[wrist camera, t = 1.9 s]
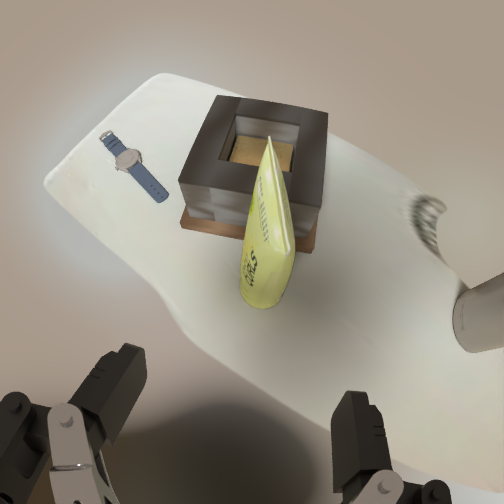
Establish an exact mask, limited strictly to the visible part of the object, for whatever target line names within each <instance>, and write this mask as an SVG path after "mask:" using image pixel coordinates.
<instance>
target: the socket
mask: <svg viewBox="0 0 504 504" xmlns="http://www.w3.org/2000/svg"><path fill="white" fill-rule="evenodd" d="M327 128H328V113H326V112H321V111H317V110H312V109H308V108H303V107H297V106H293V105H287V104H281V103H276V102H269V101H263V100H256V99H249V98H241V97H232V96H222V95H217V96H216V98H215V100H214V102H213V104H212V106H211V108H210V110H209V112H208V114H207V116H206V118H205V120H204V122H203V125H202V127H201V129H200V131H199V133H198V135H197V137H196V140H195V142H194V144H193V146H192V148H191V151H190V153H189V155H188V157H187V160H186V162H185V164H184V167H183V169H182V171H181V174H180V176H179V179H178V182H179V185H180V188H181V191H182V194H183V197H184V200H185V203H186V206H185V209H184V212H183V215H182V217H181V220H180V224H181V227H182V228H184V229H189V230H195V231H200V232H205V233H210V234H215V235H220V236H225V237H230V238H235V239H241V240H244V237H245V231H246V225H247V220H248V215H249V210H250V206H251V201H252V196H253V191H254V187H255V182H256V178H257V174H258V170H259V167H260V166H254V165H248V164H242V163H236V162H230V161H229V160H230V157H231V154H232V151H233V148H234V145H235V142H236V139H237V136H238V135H240V136H247V137H253V138H259V139H265V140H268V136H270V137H271V141H276V142H282V143H287V144H292V145H293V150H292V156H291V162H290V168H289V172H286V171H282V175H283V179H284V183H285V187H286V191H287V196H288V201H289V207H290V212H291V218H292V224H293V230H294V238H295V251H300V252H305V253H310V254H311V253H312V251H313V249H314V242H315V234H316V226H317V217H318V212H319V210H320V208H321V203H322V193H323V182H324V171H325V158H326V144H327Z"/></svg>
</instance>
